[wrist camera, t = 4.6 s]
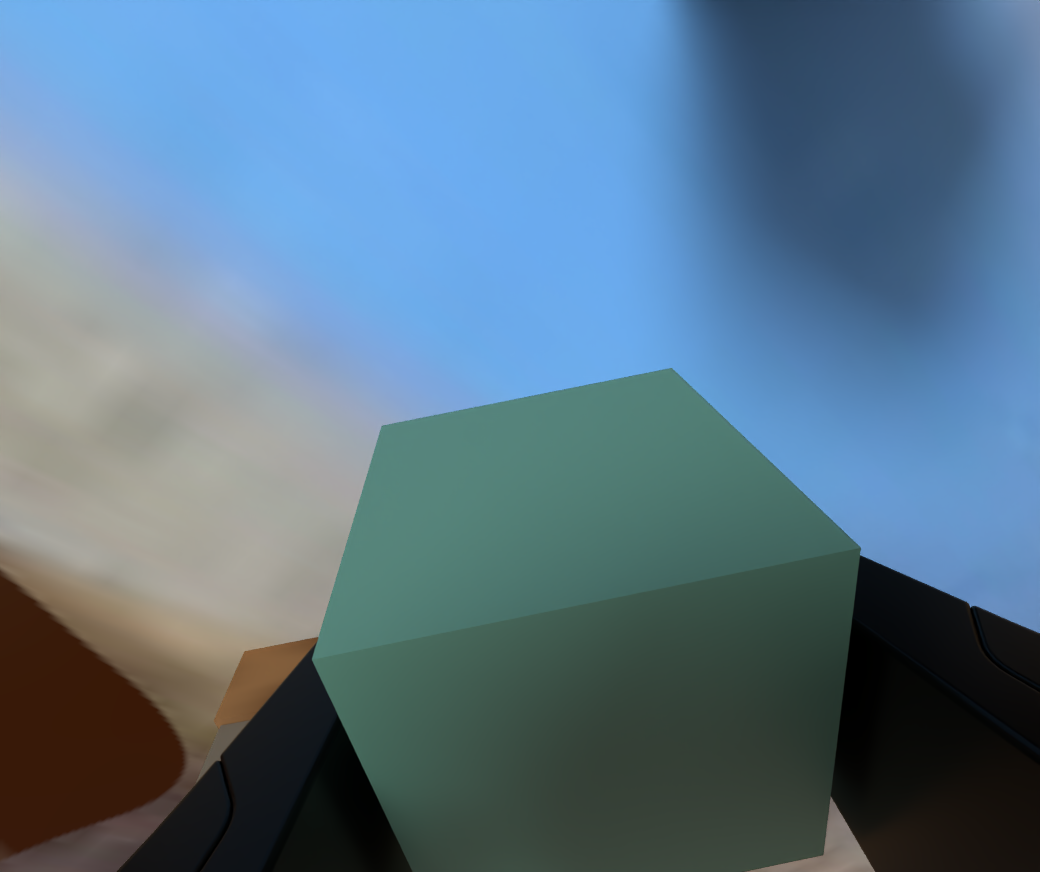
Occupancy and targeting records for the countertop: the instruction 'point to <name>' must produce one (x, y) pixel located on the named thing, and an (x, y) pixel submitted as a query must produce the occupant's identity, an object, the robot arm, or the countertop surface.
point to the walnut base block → (259, 679)
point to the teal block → (591, 638)
